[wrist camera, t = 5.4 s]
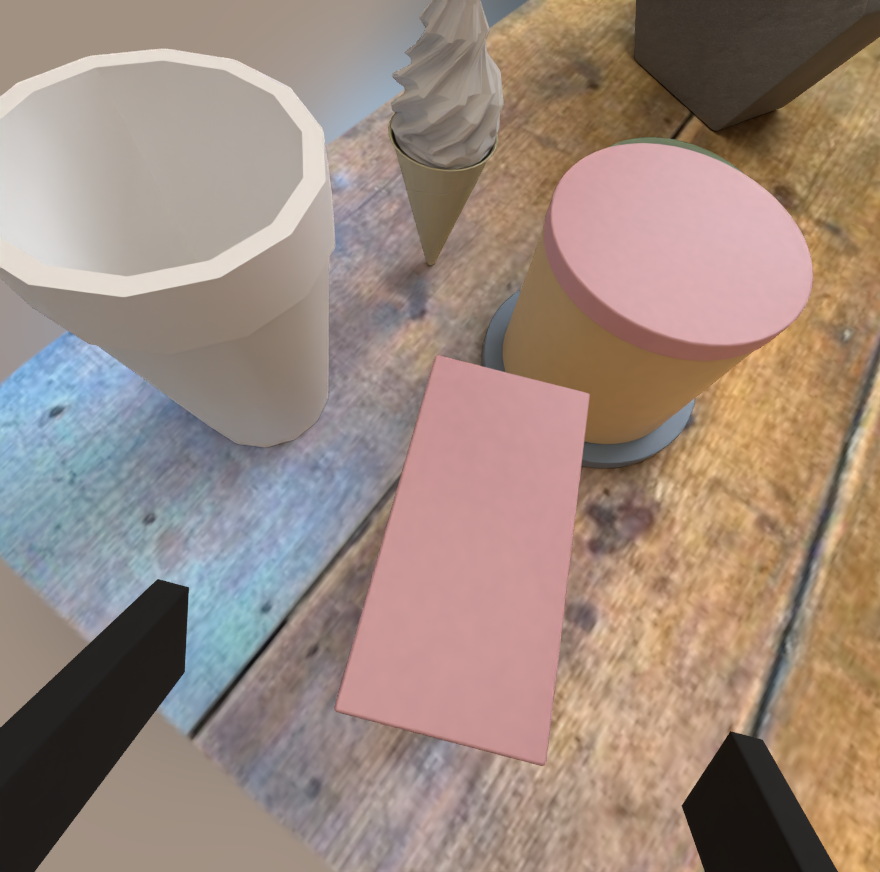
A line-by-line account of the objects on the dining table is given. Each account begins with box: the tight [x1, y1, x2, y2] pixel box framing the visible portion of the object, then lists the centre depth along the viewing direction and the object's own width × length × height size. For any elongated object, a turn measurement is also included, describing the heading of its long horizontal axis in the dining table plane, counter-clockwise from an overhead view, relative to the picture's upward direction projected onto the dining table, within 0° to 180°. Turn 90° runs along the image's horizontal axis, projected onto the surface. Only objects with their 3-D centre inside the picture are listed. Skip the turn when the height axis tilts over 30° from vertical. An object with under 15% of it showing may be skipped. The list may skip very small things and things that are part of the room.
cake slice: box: [334, 355, 590, 766], centre depth 16 cm, size 9×4×11 cm, turn 167°
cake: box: [482, 143, 813, 468], centre depth 22 cm, size 12×12×10 cm
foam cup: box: [0, 49, 335, 448], centre depth 18 cm, size 10×9×13 cm
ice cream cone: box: [388, 0, 504, 265], centre depth 22 cm, size 5×5×15 cm
